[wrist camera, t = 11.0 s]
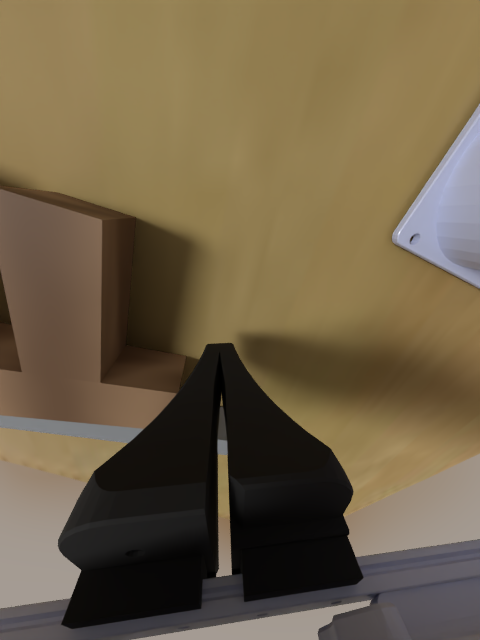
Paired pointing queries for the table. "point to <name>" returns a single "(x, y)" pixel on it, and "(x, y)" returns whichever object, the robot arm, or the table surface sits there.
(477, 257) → the robot arm
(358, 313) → the table surface
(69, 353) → the t block
